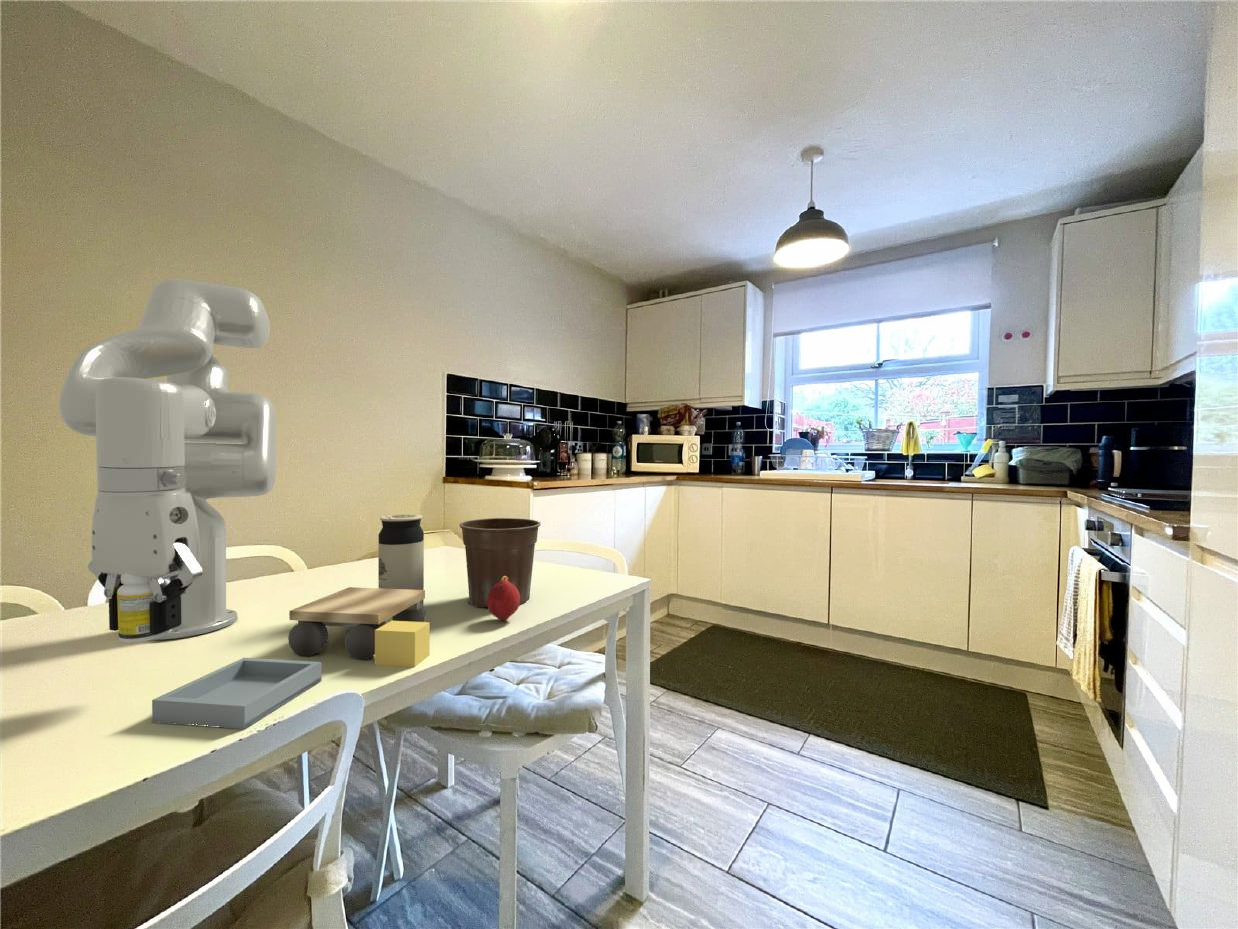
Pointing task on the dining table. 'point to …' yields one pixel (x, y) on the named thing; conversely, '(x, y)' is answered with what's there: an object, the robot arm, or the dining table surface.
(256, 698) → the tray
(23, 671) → the dining table surface
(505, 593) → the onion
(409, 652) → the block
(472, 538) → the plant pot
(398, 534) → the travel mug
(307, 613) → the dolly
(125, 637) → the supplement bottle
